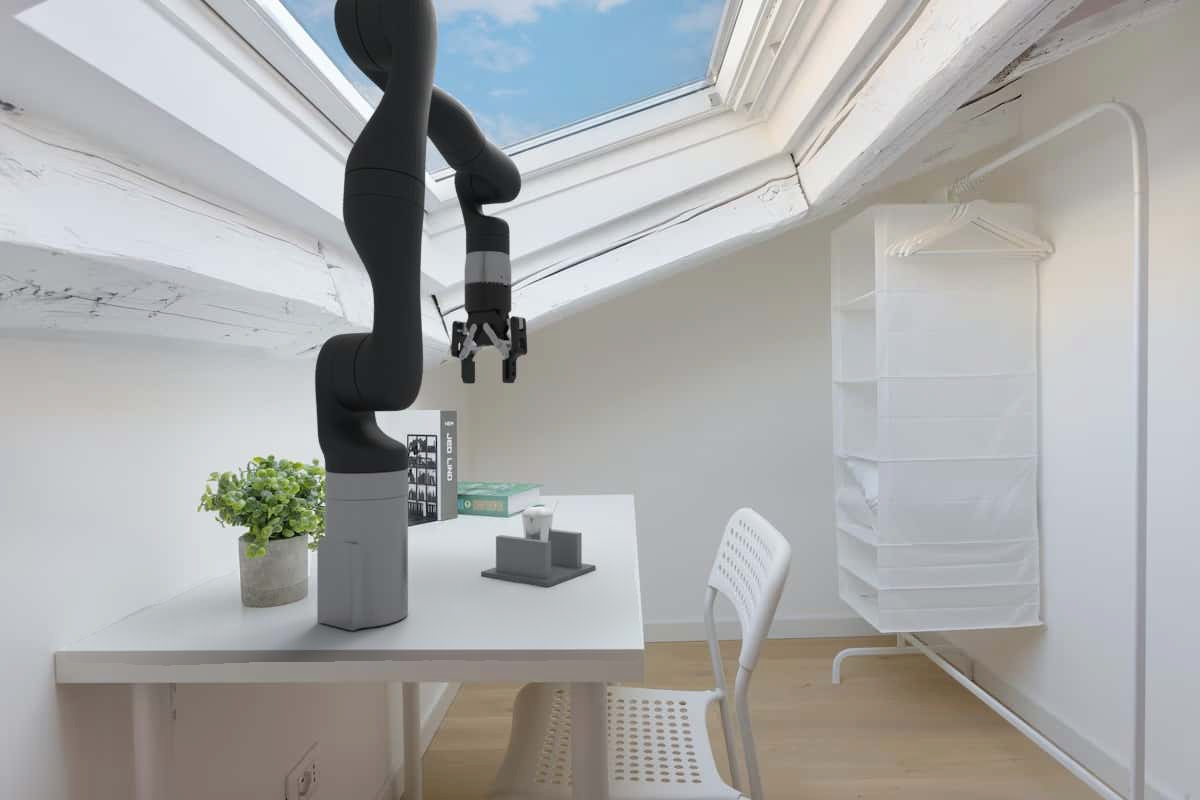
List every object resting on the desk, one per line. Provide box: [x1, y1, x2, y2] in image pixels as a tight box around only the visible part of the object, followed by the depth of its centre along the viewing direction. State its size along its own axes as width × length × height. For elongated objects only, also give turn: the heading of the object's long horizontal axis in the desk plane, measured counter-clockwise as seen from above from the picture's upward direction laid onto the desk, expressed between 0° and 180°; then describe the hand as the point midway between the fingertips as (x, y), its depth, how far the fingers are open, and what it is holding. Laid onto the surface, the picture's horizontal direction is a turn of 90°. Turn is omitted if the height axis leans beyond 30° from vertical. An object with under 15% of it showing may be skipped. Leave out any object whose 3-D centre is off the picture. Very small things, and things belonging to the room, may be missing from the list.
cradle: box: [480, 529, 597, 588], centre depth 105 cm, size 12×12×6 cm
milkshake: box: [521, 501, 559, 541], centre depth 104 cm, size 5×5×10 cm
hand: (488, 383), depth 115 cm, fingers open, 8 cm apart
